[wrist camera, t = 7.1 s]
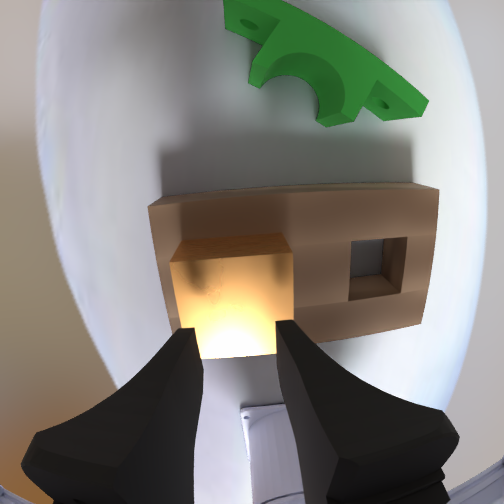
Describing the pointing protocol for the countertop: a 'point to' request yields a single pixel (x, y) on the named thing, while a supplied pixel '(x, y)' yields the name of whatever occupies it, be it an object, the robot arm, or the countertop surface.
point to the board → (319, 247)
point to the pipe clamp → (321, 62)
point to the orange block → (234, 292)
